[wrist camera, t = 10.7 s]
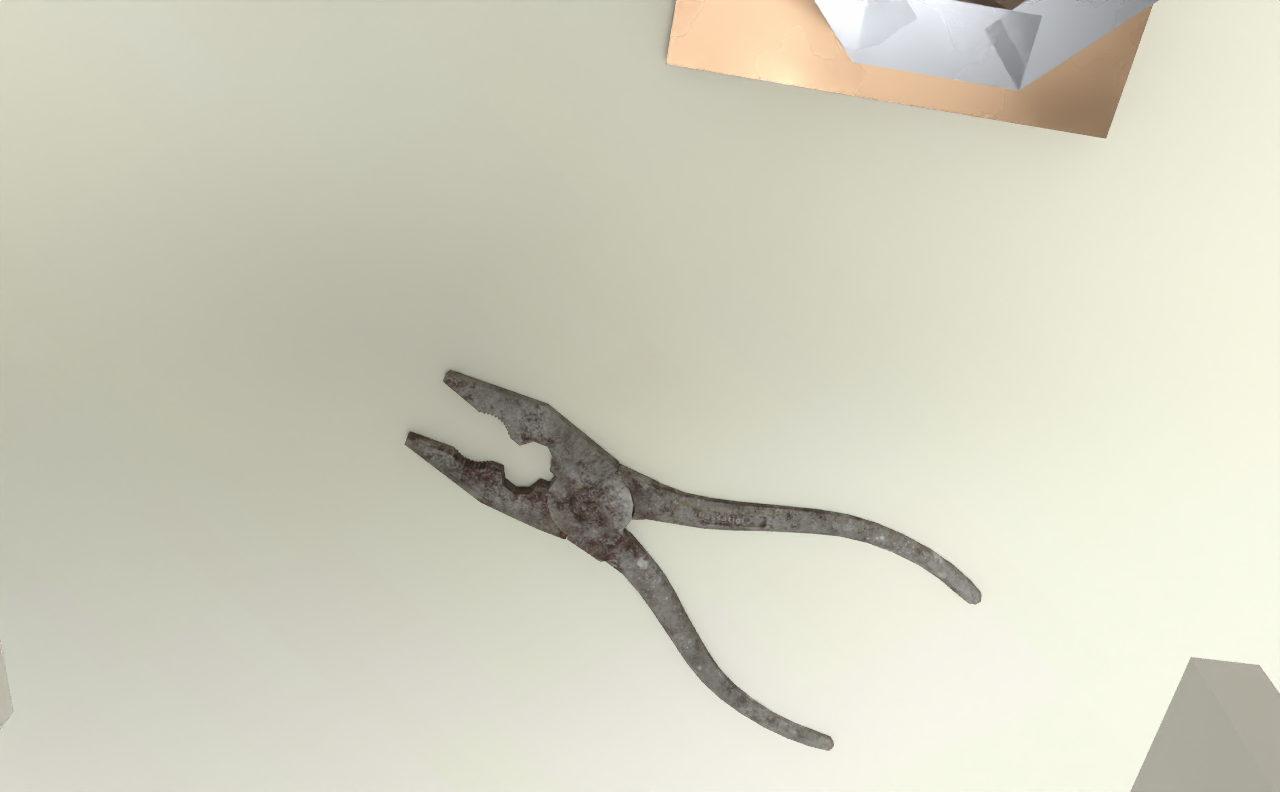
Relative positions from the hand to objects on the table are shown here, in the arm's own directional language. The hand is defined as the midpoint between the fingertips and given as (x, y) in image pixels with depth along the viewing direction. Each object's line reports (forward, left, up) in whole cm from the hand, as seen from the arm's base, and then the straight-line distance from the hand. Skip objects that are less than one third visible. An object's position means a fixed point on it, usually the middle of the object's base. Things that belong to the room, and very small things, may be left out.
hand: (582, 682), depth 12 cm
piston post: (+6, +9, -22) cm, 24 cm away
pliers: (+3, -14, -22) cm, 26 cm away
